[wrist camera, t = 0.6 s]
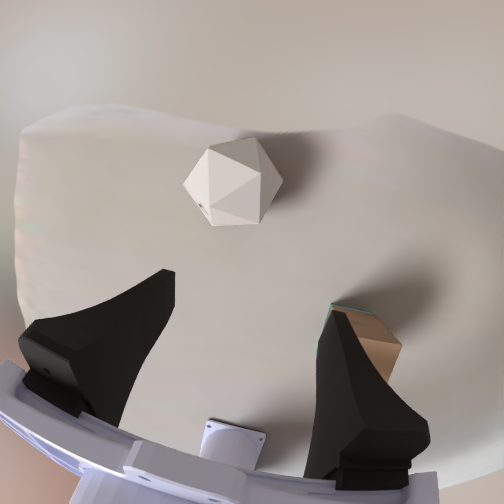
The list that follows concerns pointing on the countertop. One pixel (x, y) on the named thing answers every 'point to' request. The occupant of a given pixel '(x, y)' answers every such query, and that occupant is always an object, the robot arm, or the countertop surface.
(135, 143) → the countertop surface
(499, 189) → the countertop surface
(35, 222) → the countertop surface
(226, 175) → the die
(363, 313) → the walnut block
